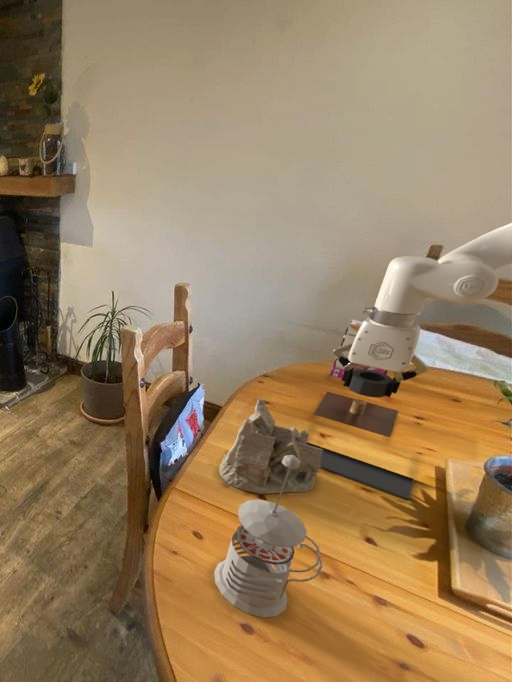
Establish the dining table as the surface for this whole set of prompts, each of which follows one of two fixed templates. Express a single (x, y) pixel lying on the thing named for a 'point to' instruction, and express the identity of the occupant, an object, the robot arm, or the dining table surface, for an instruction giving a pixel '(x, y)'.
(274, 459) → the ceramic cottage
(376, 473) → the felt mat
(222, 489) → the dining table surface
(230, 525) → the dining table surface
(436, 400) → the dining table surface
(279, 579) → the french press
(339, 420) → the tape stand
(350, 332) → the candy bar box
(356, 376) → the tape roll
